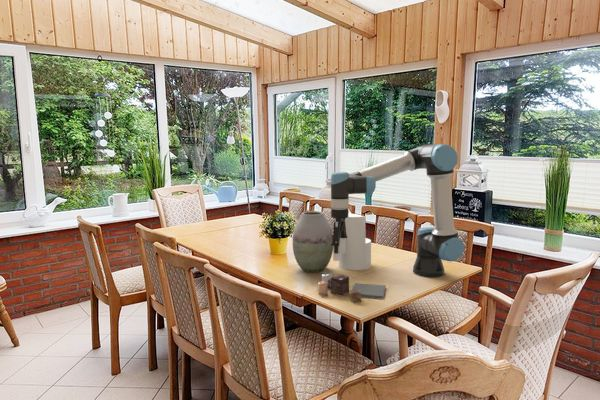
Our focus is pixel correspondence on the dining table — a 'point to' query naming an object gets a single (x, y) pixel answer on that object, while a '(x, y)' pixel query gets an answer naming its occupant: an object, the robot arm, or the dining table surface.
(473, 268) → the dining table surface
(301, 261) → the vase
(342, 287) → the box
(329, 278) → the metal-capped glass jar
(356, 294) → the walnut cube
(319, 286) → the peach rounded capsule
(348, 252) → the cylinder
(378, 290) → the slate board
